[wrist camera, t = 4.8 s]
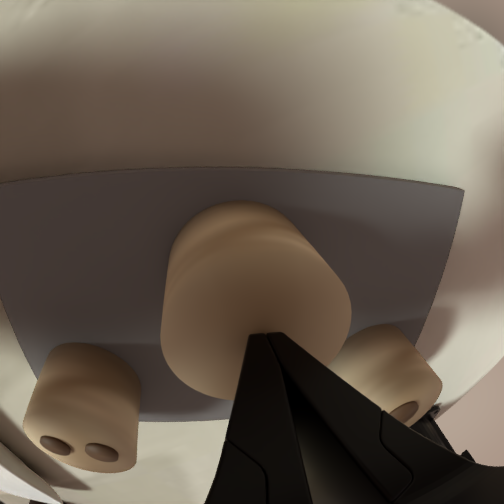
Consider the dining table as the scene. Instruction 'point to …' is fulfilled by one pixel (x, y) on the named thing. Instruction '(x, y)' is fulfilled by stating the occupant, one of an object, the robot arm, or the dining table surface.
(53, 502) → the salad plate
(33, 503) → the coffee mug
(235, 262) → the plain puck
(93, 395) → the two dot puck
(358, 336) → the one dot puck
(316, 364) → the robot arm
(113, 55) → the dining table surface
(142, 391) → the mat
